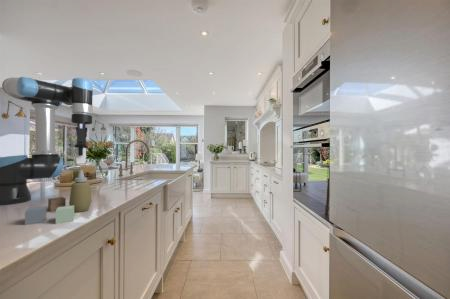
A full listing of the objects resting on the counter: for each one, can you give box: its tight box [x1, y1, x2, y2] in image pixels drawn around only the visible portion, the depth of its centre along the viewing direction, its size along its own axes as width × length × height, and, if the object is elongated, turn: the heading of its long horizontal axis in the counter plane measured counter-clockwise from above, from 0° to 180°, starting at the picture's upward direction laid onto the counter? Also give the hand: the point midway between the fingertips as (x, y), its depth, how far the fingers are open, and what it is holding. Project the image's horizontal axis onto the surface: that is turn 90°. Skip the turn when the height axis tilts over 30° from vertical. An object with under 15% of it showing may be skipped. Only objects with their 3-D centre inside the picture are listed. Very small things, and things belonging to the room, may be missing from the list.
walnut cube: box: [47, 196, 67, 213], centre depth 92 cm, size 5×5×5 cm
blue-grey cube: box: [24, 205, 47, 226], centre depth 76 cm, size 5×5×5 cm
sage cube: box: [55, 205, 75, 225], centre depth 78 cm, size 5×5×5 cm
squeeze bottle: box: [68, 169, 92, 213], centre depth 91 cm, size 8×8×18 cm
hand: (81, 162), depth 91 cm, fingers open, 13 cm apart
